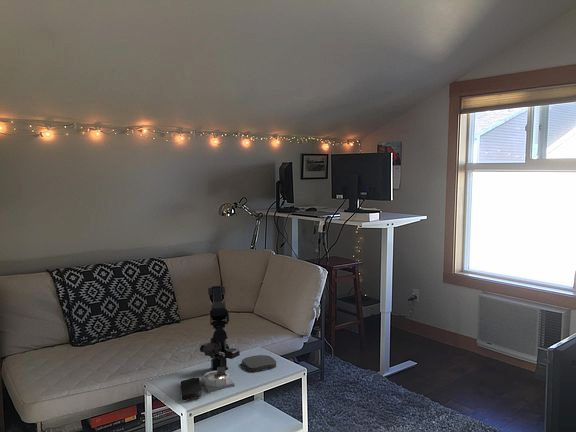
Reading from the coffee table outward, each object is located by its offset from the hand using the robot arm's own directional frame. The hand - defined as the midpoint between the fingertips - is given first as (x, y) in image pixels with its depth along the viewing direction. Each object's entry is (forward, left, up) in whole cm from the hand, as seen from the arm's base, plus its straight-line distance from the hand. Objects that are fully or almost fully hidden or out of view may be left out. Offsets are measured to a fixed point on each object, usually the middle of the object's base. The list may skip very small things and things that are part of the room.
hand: (219, 369), depth 224 cm
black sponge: (+15, +5, -6) cm, 17 cm away
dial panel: (+2, +2, -6) cm, 6 cm away
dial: (+2, +2, -4) cm, 5 cm away
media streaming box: (-23, -9, -6) cm, 25 cm away
